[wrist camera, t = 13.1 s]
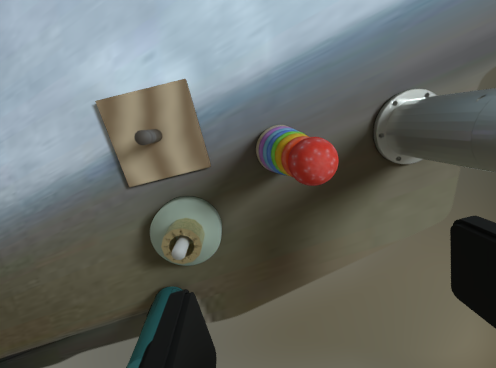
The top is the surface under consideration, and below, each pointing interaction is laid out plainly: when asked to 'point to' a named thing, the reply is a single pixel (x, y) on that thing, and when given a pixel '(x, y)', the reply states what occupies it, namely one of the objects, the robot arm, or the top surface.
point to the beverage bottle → (150, 325)
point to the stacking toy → (297, 155)
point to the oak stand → (155, 132)
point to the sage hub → (192, 210)
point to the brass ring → (186, 229)
